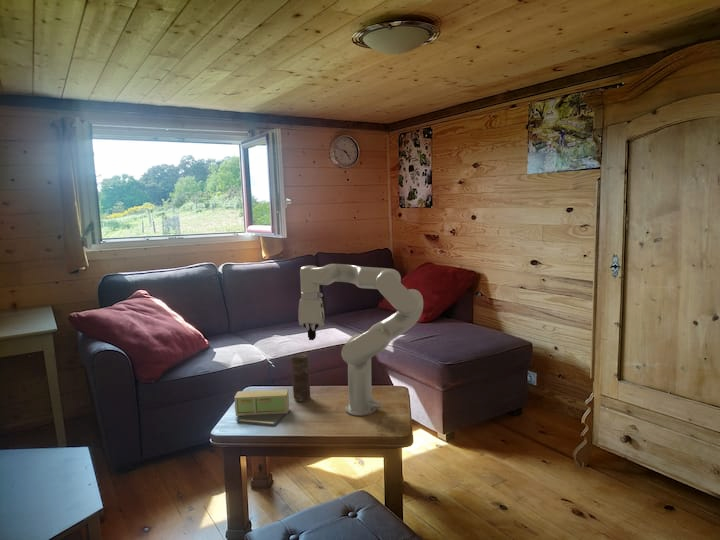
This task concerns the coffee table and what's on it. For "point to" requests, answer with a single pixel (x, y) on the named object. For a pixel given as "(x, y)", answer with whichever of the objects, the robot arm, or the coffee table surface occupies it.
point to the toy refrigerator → (261, 402)
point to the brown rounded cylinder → (300, 377)
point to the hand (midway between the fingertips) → (312, 339)
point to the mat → (261, 419)
